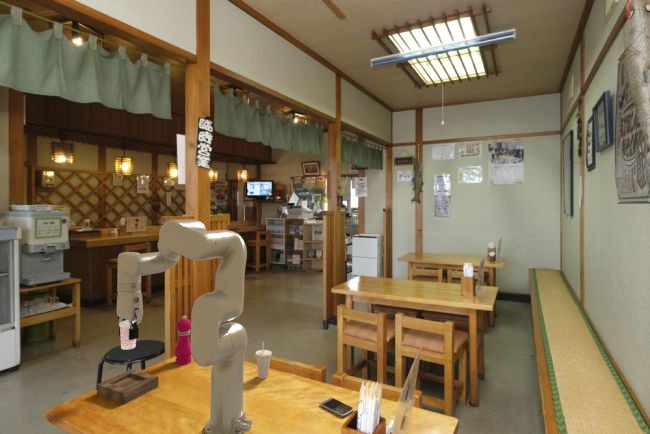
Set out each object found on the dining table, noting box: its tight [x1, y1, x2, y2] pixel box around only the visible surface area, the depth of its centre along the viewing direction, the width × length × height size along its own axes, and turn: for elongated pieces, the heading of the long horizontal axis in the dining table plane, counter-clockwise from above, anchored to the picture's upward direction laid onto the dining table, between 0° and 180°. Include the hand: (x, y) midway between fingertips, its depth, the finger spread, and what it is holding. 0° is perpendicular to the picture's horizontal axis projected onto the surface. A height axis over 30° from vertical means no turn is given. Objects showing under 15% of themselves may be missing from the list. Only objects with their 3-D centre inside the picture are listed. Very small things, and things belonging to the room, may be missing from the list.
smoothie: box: [254, 341, 273, 380], centre depth 150 cm, size 6×6×14 cm
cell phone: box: [319, 397, 355, 418], centre depth 128 cm, size 6×11×1 cm, turn 47°
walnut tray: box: [96, 369, 160, 405], centre depth 137 cm, size 14×14×4 cm
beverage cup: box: [118, 320, 137, 351], centre depth 136 cm, size 6×6×14 cm
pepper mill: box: [174, 315, 192, 366], centre depth 163 cm, size 7×7×20 cm
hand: (128, 336), depth 136 cm, fingers closed on beverage cup, 6 cm apart
